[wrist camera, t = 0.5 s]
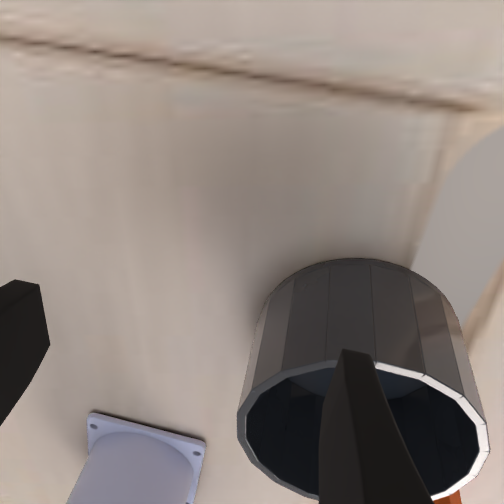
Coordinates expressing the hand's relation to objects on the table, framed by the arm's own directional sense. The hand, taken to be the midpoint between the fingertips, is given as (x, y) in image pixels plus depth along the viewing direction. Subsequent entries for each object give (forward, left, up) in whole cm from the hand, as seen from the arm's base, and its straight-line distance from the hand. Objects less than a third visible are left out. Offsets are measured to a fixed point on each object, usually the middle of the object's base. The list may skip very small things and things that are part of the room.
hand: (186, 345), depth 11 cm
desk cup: (-8, -7, -10) cm, 14 cm away
